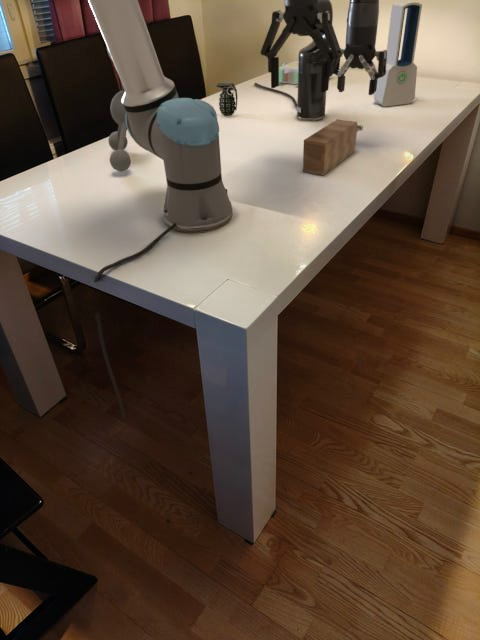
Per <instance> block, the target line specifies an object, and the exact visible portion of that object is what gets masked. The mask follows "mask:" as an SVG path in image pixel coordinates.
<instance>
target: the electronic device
mask: <svg viewBox="0 0 480 640" xmlns="http://www.w3.org/2000/svg"><path fill="white" fill-rule="evenodd" d="M422 8H423V4H421V2H420V3H419V2H416V1H408V0H399V1H396V2H394V3H392V4H391V11H390V17H389V18H390V19H389V28H388V35H387V43H386V51H387V62H386V74H385V75H384V76H383V77H381V78H378V80H377V89H376V92H374V94H373V100H374V101H375V103H376V104H378V105H381V106H383V107H384V108H385V107H393V106H400V105H408V104H412V103H413V102H414V100H415V99H416V88H417V86H416V85H417V75H418V74H417V72H418V66H417V65H416V63H414V60H415V55H416V48H417V42H418V33H419V28H420V21H421V16H422V15H421V14H422ZM405 14H406V17H405ZM404 20H405V24H404ZM403 28H404V29H403ZM403 31H404V32H403ZM402 36H403V38H402ZM401 43H402V46H401ZM400 51H401V52H400ZM399 57H400V59H399Z"/></svg>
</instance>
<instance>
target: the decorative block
mask: <svg viewBox="0 0 480 640" xmlns="http://www.w3.org/2000/svg"><path fill="white" fill-rule="evenodd" d="M298 62H299V60H298V59H297V60H295V61H292V62H289V63H287V62H282V64H281V66H279V83H282V84H291V85H292V84H293V85H298Z"/></svg>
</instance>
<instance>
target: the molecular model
mask: <svg viewBox="0 0 480 640" xmlns="http://www.w3.org/2000/svg"><path fill="white" fill-rule="evenodd" d="M106 52H107V55H108V57H109V59H110V60H111V61H112V62H113V60H112V57H111V55H110V53H109V50H108V48H107V47H106ZM120 85H121V89H122V90H120V91H118V92H117V93H116V94H115V95H114V96H113V97H112V99H111V102H110V115H111V117H112V119H113V120H114V122H115V123H116V124H117V125H118V127H117V131H113V132H111V133H110V134H109V136H108V138H107V139H108V145H109V147H110V148H111V149H112V150H113V152H111V154H110V156H109V163H110V166H111V167H112V169H114V170H115V171H117V172H126V171H128V169H129V168H130V167H131V164H132V158H131V156H130V154H129V153H128V152H127V151H126V148H127V147H128V137H127V132H128V129H127V126H126V121H125V115H126V111H125V108H124V106H123V104H122V98H123V95H124V93H125V89H124V87H123V84H122V82H121V81H120Z"/></svg>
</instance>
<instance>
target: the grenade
mask: <svg viewBox="0 0 480 640" xmlns="http://www.w3.org/2000/svg"><path fill="white" fill-rule="evenodd" d="M215 87H217V88H219V89H221V93H219V97H218V101H219V102H218V106H219V108H218V109H219V112H220V114H221V115H222V116H224V117H231V116H233V115H234V113H235V112H236V111H237V108H238V89H237V87H236V85H235V84H234V83H233V82H218V83H217V84H216V86H215ZM232 91H233V92H232ZM234 94H235V96H234Z"/></svg>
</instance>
